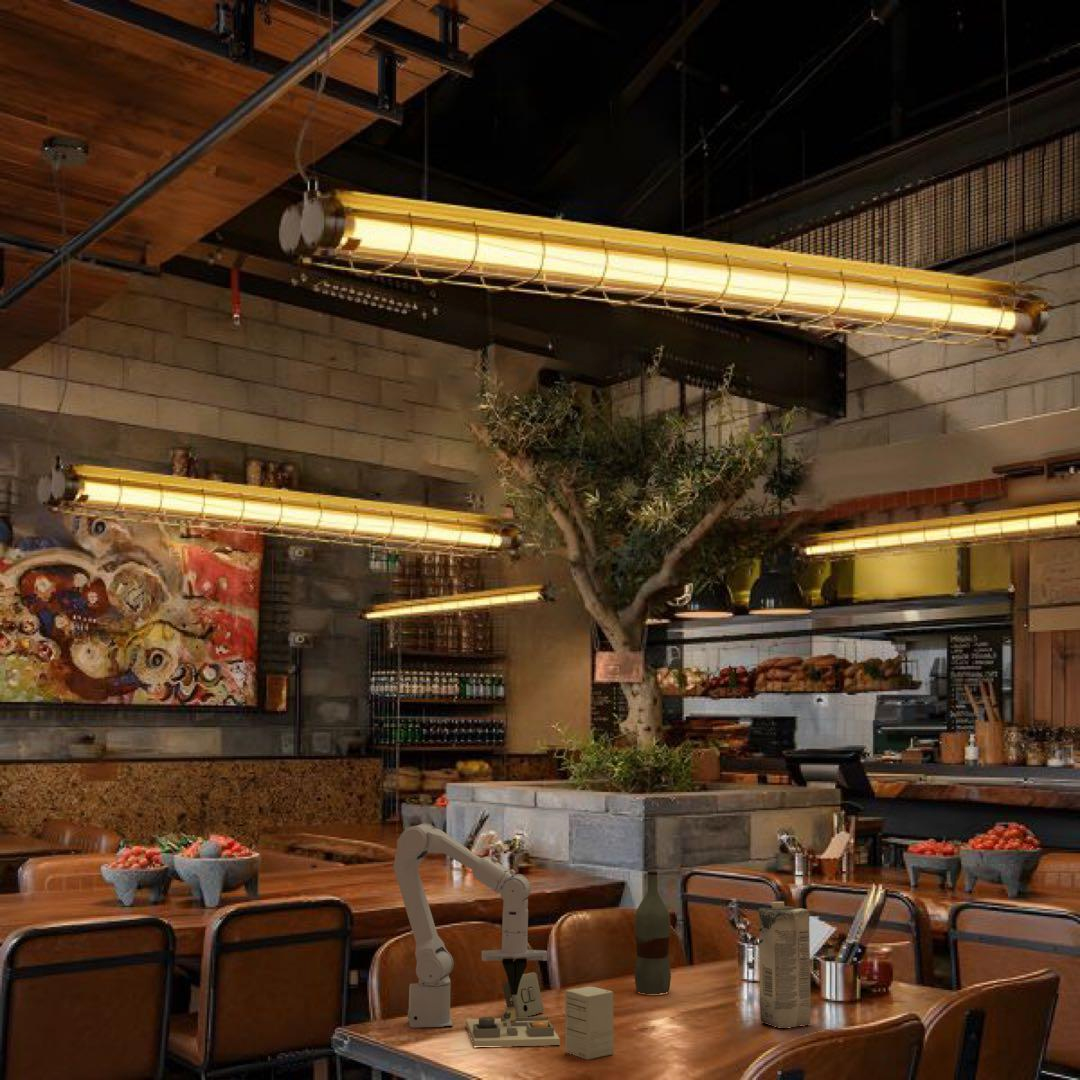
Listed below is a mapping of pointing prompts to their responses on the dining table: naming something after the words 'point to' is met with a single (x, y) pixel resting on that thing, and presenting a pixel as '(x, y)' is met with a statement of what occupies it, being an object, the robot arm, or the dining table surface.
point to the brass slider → (512, 1012)
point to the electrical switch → (525, 996)
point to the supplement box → (589, 1022)
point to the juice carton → (784, 965)
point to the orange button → (539, 1024)
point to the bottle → (652, 941)
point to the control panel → (513, 1033)
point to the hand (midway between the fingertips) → (513, 993)
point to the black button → (486, 1022)
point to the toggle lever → (508, 1020)
